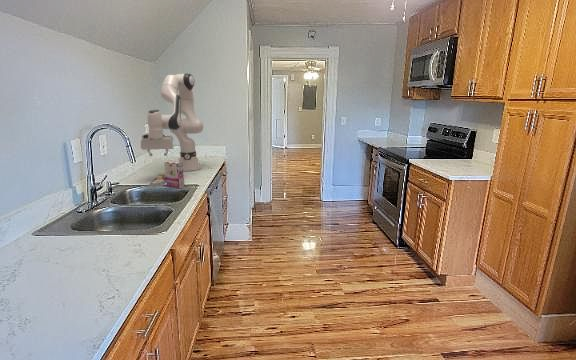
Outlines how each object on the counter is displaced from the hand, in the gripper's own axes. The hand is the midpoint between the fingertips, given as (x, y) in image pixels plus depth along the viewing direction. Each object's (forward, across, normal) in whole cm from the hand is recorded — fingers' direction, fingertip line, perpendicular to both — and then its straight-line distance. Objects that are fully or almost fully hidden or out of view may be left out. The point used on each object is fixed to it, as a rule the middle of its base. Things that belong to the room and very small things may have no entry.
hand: (158, 155), depth 221 cm
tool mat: (+17, 0, +3) cm, 18 cm away
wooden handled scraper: (+17, 0, +2) cm, 17 cm away
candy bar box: (+18, -13, +17) cm, 28 cm away
